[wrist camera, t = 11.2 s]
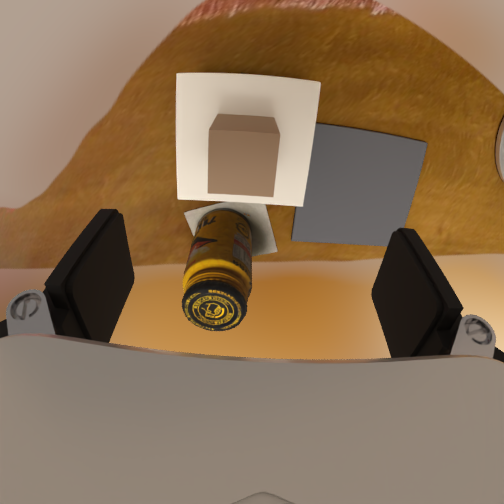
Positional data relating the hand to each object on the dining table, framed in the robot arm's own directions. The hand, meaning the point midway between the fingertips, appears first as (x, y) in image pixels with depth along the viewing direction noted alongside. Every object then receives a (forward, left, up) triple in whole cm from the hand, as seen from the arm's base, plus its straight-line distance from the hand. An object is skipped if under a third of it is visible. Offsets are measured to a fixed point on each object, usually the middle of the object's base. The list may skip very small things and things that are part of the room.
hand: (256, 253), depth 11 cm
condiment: (+2, +12, -21) cm, 24 cm away
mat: (-11, +6, -21) cm, 24 cm away
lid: (+1, 0, -15) cm, 15 cm away
